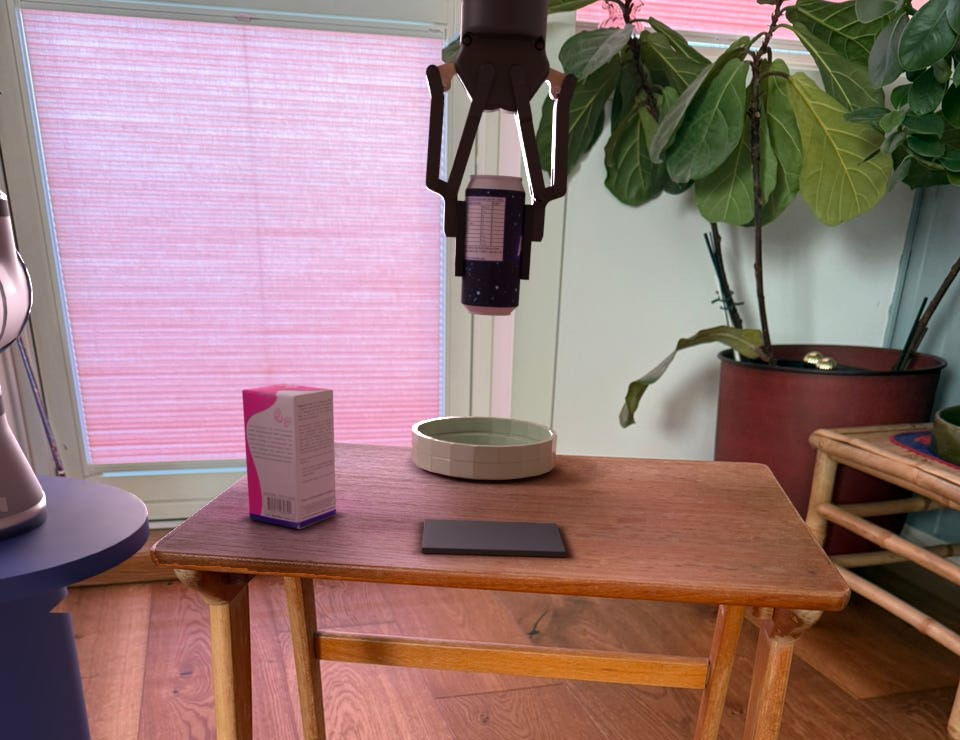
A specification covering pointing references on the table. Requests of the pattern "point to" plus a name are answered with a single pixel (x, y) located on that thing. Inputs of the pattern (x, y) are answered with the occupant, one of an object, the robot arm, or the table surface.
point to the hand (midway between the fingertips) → (491, 277)
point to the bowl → (483, 447)
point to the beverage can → (492, 244)
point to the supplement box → (290, 454)
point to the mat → (492, 538)
